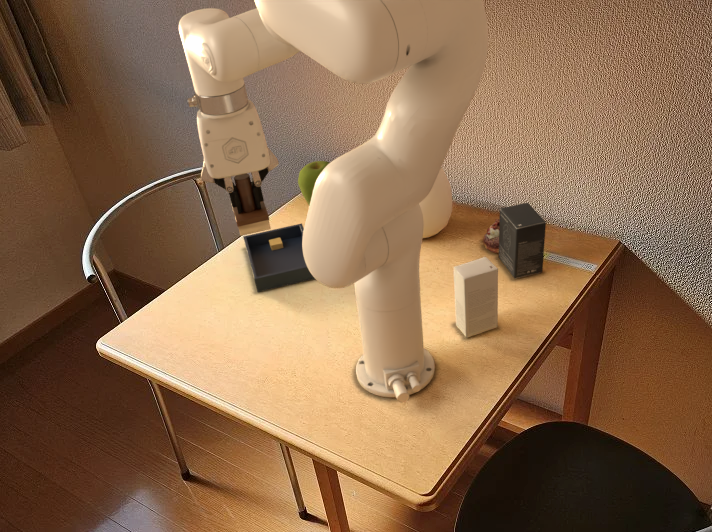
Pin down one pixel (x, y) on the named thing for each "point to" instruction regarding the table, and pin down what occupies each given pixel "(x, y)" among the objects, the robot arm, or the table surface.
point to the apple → (310, 178)
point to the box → (521, 240)
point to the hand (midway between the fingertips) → (249, 206)
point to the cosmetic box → (476, 296)
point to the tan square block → (276, 243)
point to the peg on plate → (249, 208)
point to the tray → (277, 258)
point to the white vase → (437, 206)
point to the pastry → (492, 237)
